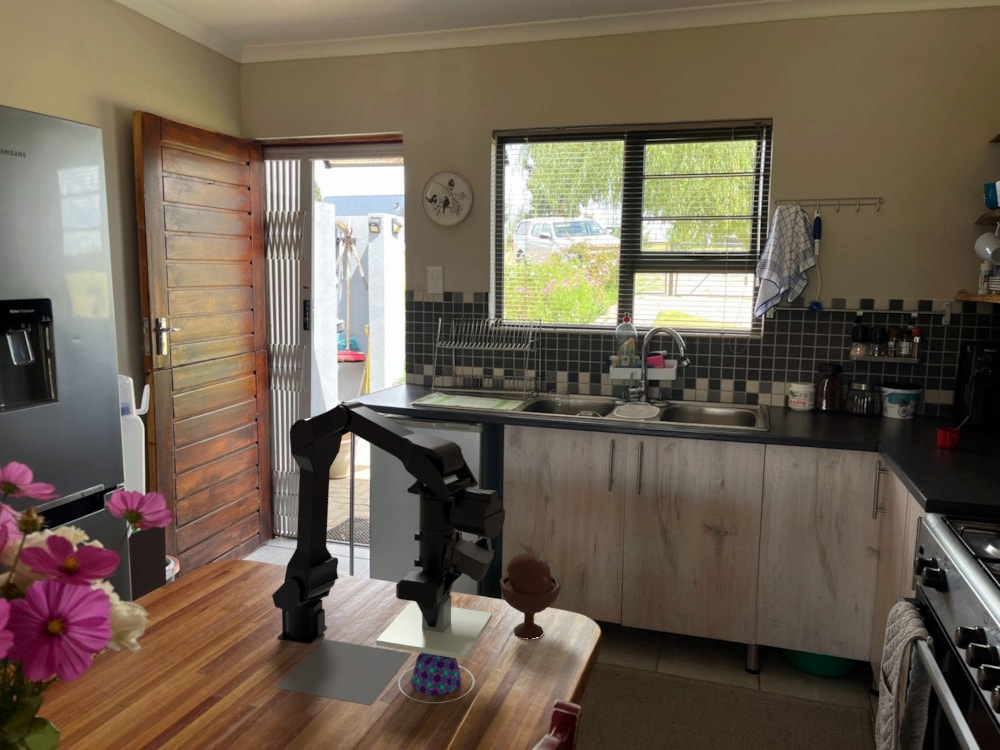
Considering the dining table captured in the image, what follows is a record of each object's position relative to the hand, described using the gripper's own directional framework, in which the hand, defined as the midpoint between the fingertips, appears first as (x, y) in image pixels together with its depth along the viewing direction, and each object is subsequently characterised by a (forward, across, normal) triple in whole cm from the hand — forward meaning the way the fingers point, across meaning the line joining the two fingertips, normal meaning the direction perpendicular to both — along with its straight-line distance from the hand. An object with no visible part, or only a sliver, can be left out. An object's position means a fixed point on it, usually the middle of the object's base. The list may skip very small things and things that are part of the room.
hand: (436, 621), depth 117 cm
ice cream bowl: (+11, +21, -10) cm, 26 cm away
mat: (+10, -1, +15) cm, 18 cm away
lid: (+2, 0, 0) cm, 2 cm away
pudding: (+11, 0, 0) cm, 11 cm away
